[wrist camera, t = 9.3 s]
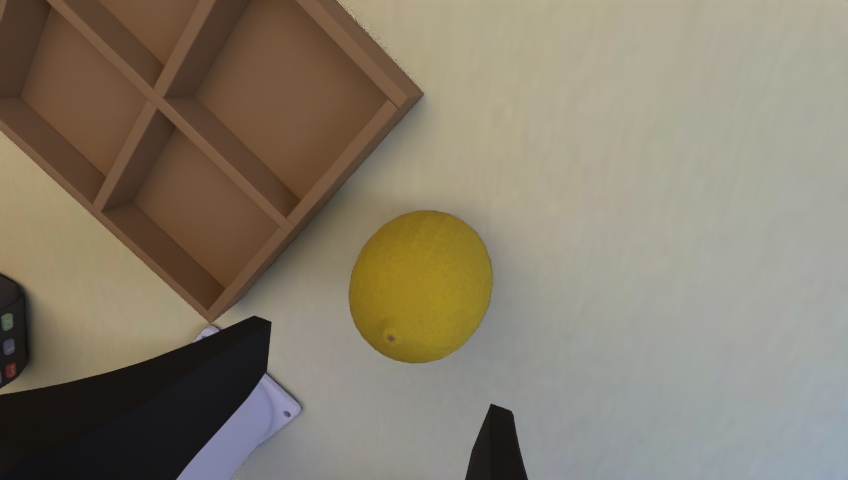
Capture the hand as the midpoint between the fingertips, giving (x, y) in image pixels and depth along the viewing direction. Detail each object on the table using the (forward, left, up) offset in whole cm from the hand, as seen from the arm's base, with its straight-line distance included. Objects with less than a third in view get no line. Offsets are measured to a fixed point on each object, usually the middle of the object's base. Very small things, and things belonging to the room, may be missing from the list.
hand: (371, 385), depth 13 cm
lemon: (+1, 0, -10) cm, 10 cm away
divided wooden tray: (-3, +14, -9) cm, 17 cm away
